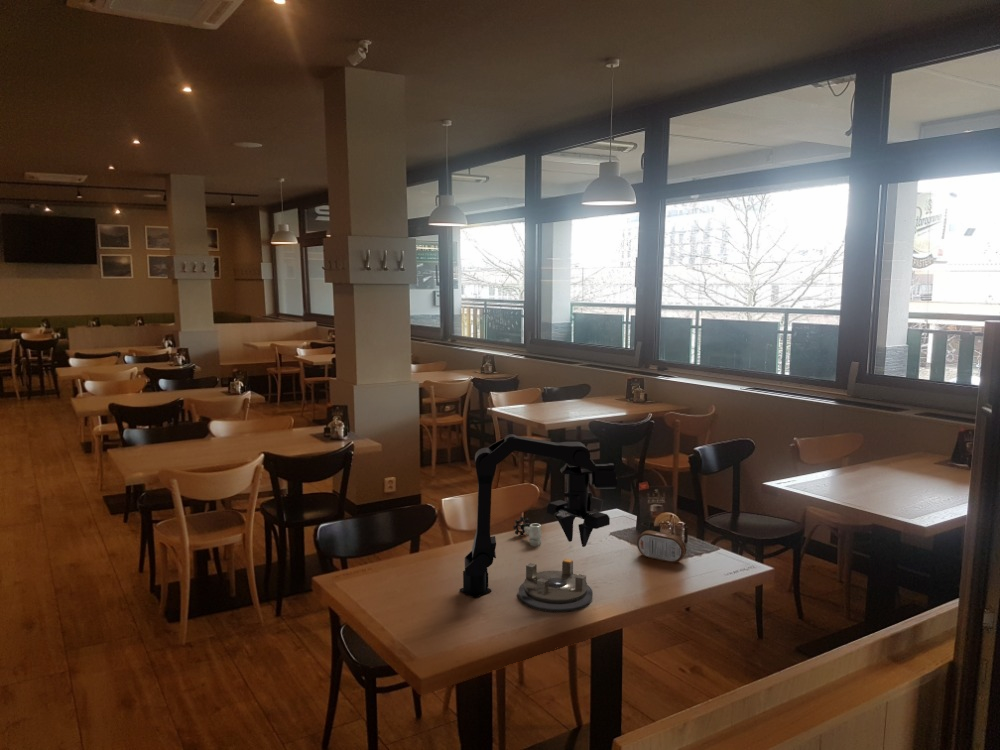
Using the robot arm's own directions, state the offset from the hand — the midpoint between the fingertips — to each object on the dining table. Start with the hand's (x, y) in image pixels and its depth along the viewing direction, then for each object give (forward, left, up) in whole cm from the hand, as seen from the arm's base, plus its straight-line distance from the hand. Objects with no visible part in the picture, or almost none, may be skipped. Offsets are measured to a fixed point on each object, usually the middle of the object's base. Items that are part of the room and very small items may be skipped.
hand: (577, 543), depth 192 cm
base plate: (-7, +1, -13) cm, 15 cm away
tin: (+36, -4, -13) cm, 38 cm away
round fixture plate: (-7, +1, -11) cm, 14 cm away
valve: (+19, +36, -13) cm, 43 cm away
